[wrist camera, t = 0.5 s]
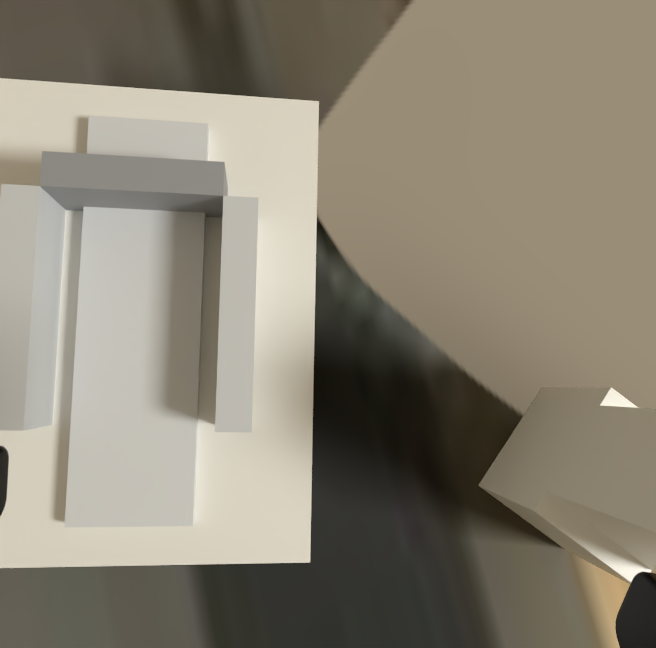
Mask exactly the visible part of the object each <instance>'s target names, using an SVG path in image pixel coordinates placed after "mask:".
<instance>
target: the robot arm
mask: <svg viewBox="0 0 656 648" xmlns="http://www.w3.org/2000/svg"><path fill="white" fill-rule="evenodd" d="M8 466H9V454H8V451H7V449H6V448H5V447H4V446H0V516H1V515H2V512H3V510H4V507H5V504H6V499H7V485H8ZM616 634H617V638H618V642H619V645H620V648H656V574H655V573H649V572H640V573H638V574H636V575H635V576H634V578H633V580H632V582H631V584H630V587H629V589H628V591H627V593H626V596H625V598H624V600H623V603H622V605H621V607H620V610H619V612H618V615H617V618H616Z"/></svg>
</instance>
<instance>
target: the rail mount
mask: <svg viewBox="0 0 656 648" xmlns="http://www.w3.org/2000/svg"><path fill="white" fill-rule="evenodd" d="M318 119H319V101H307V100H293V99H279V98H265V97H251V96H238V95H224V94H210V93H196V92H183V91H169V90H155V89H141V88H128V87H114V86H100V85H86V84H72V83H59V82H45V81H31V80H17V79H4V78H0V446H4V447H5V448H6V449H7V451H8V454H9V466H8V485H7V499H6V504H5V507H4V510H3V512H2V515H1V516H0V568H28V567H83V566H138V565H194V564H249V563H304V562H310V540H311V488H312V435H313V382H314V330H315V277H316V224H317V169H318Z"/></svg>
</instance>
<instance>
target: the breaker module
mask: <svg viewBox="0 0 656 648" xmlns="http://www.w3.org/2000/svg"><path fill="white" fill-rule="evenodd" d="M478 486H479V487H481V488H482V489H483V490H485V491H486V492H488V493H489V494H490V495H492V496H493V497H494V498H496V499H497V500H498V501H500V502H501V503H503V504H504V505H505V506H507V507H508V508H509V509H511V510H512V511H513V512H515V513H516V514H518V515H519V516H520V517H522V518H523V519H524V520H526V521H527V522H528V523H530V524H531V525H532V526H534V527H535V528H537V529H538V530H539V531H541V532H542V533H543V534H545V535H546V536H547V537H549V538H550V539H552V540H553V541H554V542H556V543H557V544H558V545H560V546H561V547H562V548H564V549H565V550H567V551H569V552H571V553H573V554H575V555H577V556H579V557H580V558H582V559H584V560H586V561H588V562H590V563H592V564H594V565H595V566H597V567H599V568H601V569H603V570H605V571H607V572H609V573H611V574H612V575H614V576H616V577H618V578H620V579H622V580H624V581H626V582H627V583H629V584H631V582H632V580H633V578H634V576H635V575H636V574H638V573H640V572H649V573H650V572H651V570H653V571H655V572H656V409H650V408H638V407H636V406H635V405H634V404H632V403H631V402H630V401H629V400H627V399H626V398H624V397H623V396H622V395H620V394H619V393H618V392H617V391H615V390H614V389H612V388H610V387H607V388H606V387H605V388H604V387H542V388H541V390H540V391H539V393H538V394H537V396H536V398H535V399H534V400H533V402H532V404H531V405H530V407H529V408H528V410H527V411H526V413H525V414H524V416H523V417H522V419H521V420H520V422H519V424H518V425H517V427H516V428H515V430H514V431H513V433H512V434H511V436H510V437H509V439H508V440H507V442H506V444H505V445H504V447H503V448H502V450H501V451H500V453H499V454H498V456H497V457H496V459H495V460H494V462H493V463H492V465H491V467H490V468H489V470H488V471H487V473H486V474H485V476H484V477H483V479H482V480H481V482H480V483H479V485H478Z"/></svg>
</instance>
